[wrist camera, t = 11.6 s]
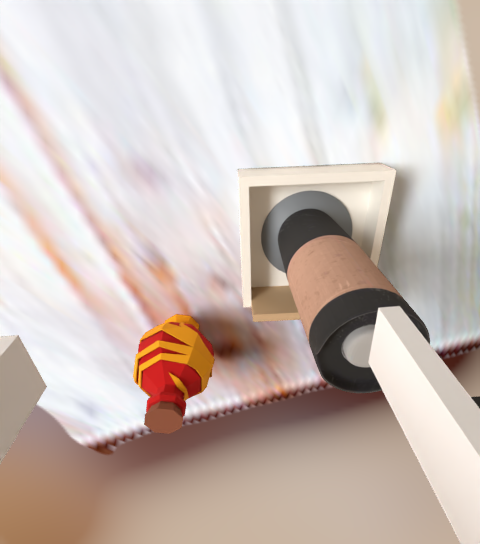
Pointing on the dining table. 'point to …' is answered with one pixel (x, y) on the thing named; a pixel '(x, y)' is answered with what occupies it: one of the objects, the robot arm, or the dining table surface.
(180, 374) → the potion bottle
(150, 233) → the dining table surface
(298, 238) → the travel mug
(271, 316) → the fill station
